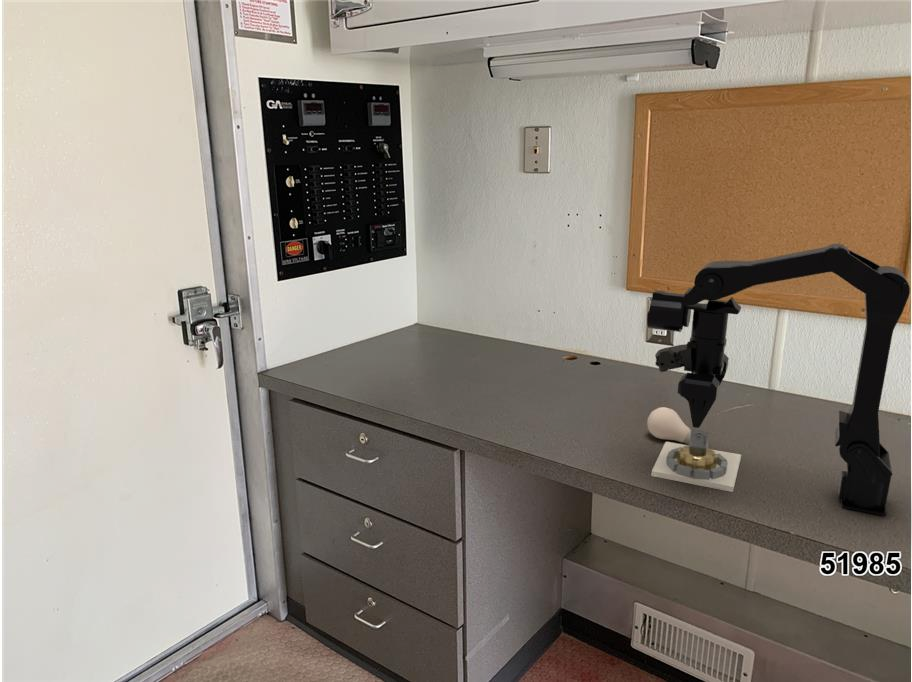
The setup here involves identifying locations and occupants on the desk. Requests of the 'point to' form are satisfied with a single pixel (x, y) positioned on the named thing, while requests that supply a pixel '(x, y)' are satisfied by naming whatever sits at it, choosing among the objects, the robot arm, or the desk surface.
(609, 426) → the desk surface
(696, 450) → the planet gear
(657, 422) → the light bulb
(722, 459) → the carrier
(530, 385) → the desk surface
